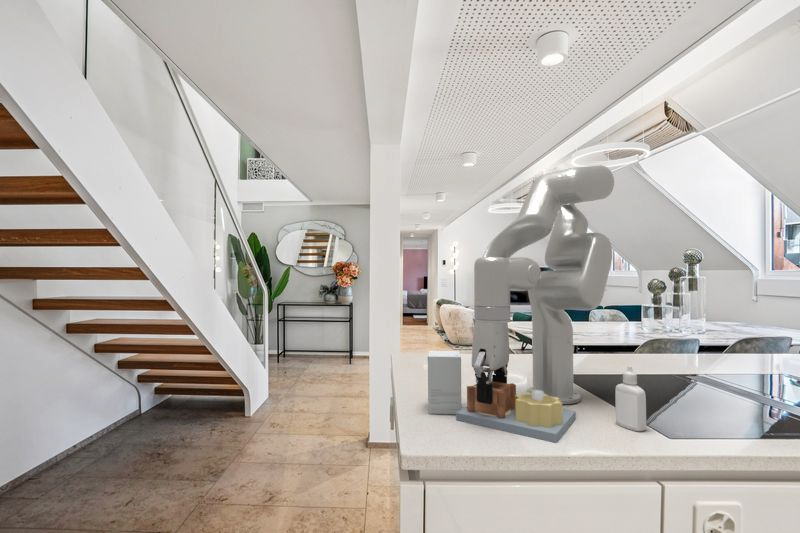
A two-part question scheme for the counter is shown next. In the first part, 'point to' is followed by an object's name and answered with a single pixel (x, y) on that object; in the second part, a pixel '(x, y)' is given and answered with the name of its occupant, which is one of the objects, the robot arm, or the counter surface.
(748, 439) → the counter surface
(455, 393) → the supplement box
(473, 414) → the gear board
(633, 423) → the eye dropper bottle
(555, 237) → the robot arm
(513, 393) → the brown open boxy piece
